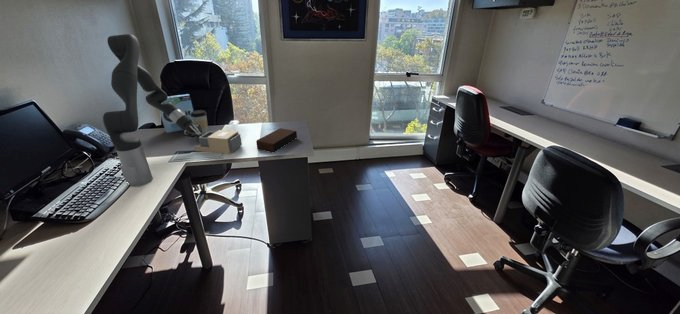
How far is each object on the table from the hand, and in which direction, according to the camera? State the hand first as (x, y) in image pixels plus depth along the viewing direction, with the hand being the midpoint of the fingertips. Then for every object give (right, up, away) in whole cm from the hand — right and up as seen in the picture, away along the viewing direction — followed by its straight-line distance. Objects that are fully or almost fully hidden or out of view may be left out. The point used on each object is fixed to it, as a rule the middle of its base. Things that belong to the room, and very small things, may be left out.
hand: (204, 140), depth 162 cm
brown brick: (+42, -2, +6) cm, 42 cm away
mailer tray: (+10, -4, 0) cm, 11 cm away
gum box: (-30, +9, +29) cm, 43 cm away
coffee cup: (-11, +5, +21) cm, 25 cm away
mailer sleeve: (+8, -5, +1) cm, 9 cm away
